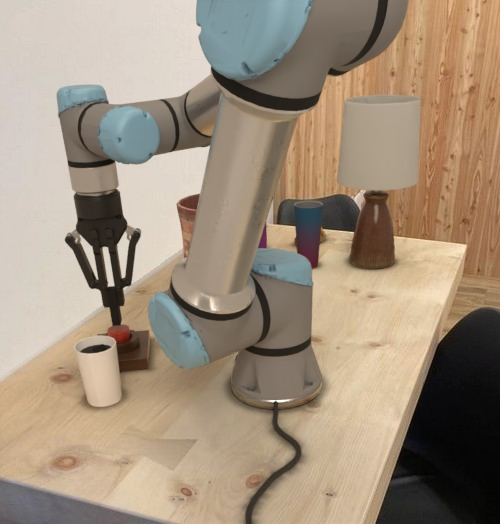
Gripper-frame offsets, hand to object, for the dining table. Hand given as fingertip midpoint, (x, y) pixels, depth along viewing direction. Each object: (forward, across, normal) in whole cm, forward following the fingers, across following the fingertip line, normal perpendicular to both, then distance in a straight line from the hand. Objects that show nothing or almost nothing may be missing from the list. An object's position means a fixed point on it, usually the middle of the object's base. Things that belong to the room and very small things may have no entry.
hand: (117, 322), depth 116 cm
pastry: (+7, -47, -60) cm, 77 cm away
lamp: (+7, -59, -41) cm, 72 cm away
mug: (+7, -29, -55) cm, 63 cm away
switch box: (+7, 0, 0) cm, 7 cm away
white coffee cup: (+7, +2, +15) cm, 17 cm away
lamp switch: (+3, 0, 0) cm, 3 cm away
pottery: (+7, -21, -39) cm, 45 cm away
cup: (+7, -43, -42) cm, 61 cm away
